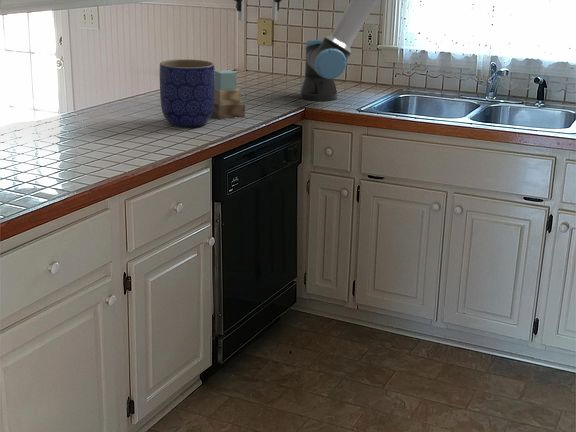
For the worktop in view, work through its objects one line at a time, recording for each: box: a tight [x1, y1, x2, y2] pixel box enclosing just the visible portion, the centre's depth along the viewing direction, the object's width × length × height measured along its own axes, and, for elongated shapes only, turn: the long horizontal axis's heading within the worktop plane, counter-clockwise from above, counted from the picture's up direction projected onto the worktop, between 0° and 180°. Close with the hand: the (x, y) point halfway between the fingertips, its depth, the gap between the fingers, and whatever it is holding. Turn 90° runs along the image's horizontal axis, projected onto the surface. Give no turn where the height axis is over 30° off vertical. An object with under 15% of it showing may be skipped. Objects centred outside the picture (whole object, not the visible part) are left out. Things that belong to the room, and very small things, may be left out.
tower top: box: [214, 88, 242, 106], centre depth 290 cm, size 8×8×5 cm
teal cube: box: [215, 69, 238, 90], centre depth 289 cm, size 6×6×6 cm
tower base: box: [211, 101, 246, 120], centre depth 292 cm, size 10×10×5 cm
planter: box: [159, 59, 216, 128], centre depth 275 cm, size 18×18×21 cm
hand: (257, 20), depth 302 cm, fingers open, 13 cm apart
